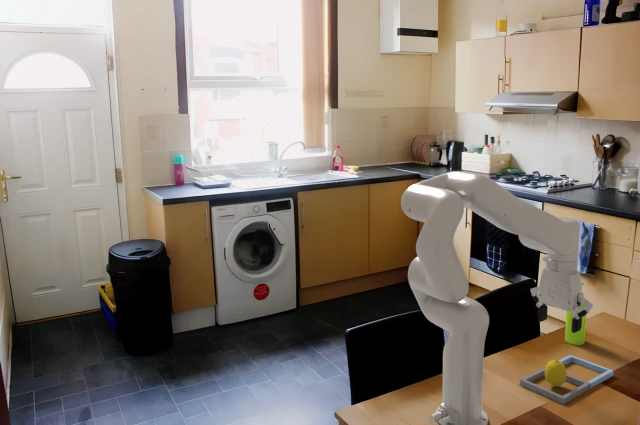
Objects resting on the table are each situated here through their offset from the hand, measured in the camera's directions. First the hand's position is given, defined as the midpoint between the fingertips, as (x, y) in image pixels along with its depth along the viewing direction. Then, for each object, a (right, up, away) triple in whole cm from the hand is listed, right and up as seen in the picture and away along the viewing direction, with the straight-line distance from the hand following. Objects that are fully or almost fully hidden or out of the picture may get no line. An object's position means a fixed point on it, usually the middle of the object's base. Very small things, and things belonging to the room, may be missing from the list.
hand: (558, 325), depth 150 cm
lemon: (0, -18, +3) cm, 18 cm away
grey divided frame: (+5, -17, +7) cm, 19 cm away
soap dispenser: (+18, -12, +32) cm, 38 cm away
